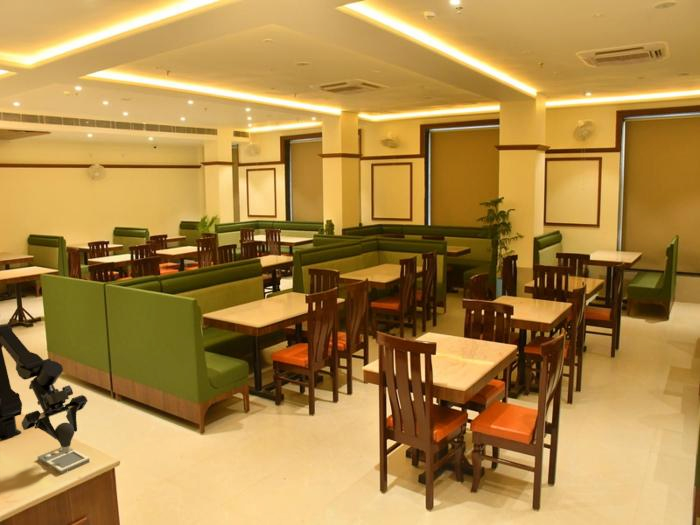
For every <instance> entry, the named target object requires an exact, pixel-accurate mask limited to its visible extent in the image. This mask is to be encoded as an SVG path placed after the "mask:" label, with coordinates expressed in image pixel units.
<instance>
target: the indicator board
mask: <svg viewBox="0 0 700 525" xmlns="http://www.w3.org/2000/svg"><path fill="white" fill-rule="evenodd" d="M37 460H38V461H39V460H40V462H41V463H42V462H43V464H44V463H45V464H44V465H45V466H47V465H48V466H47V467H49V468H50V467H51V469H52V470H53V471H55V472H57V473H58V472H59V473H58V474H60V475H63V474H66V473H67V471H68V472H70V471H72V470H74V469H77V468H79V467H81V466H84V465H85V463H86V464H88V463H90V457H89V456H87V455H85V454H83V453H82V452H80V451H78V450H77V449H72V448H71V449H70V451H69V452H68V453H67V454H65V453H63V452H62V447H58V448H55V449H54V450H51V451H48V452H45V453H43V454H41V455H39V456H37ZM83 464H84V465H83ZM65 472H66V473H65Z"/></svg>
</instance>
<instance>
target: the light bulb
mask: <svg viewBox="0 0 700 525" xmlns="http://www.w3.org/2000/svg"><path fill="white" fill-rule="evenodd" d="M54 430H55V431H56V433H57V436H58V439H56V440H57V442H59V444H60V446H61V447H62V452H63V453H65V454H67V453H68V452H69V451H70V449H72V448H71V443H72V440H73V438H74V435H75V431H74V427H73V426H72V425H71V424H70V423H69V422H62V423H59V424H58V425H57V426H56V428H54Z"/></svg>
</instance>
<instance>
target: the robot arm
mask: <svg viewBox="0 0 700 525" xmlns="http://www.w3.org/2000/svg"><path fill="white" fill-rule="evenodd" d="M3 348H4V349H5V351H6V352H7V353H8V355H10V357H11V358H12V359H13V360H14V362H15V370H16V372H17V374H18V377H19V378H21V379H22V380H24V381H25V380H29V379H32V378H33V379H32V380H30V384H29V385H28V388H29V389H28V390H32V391H33V393H34V395H35V397H36V399H37V402H36V403H37V405H38V406H39V405H40V408H41V409H42V411H43V412H40V410H35V411H34V410H33V411H31V412H29V413H26V414H25V415H24V418H23V419H22V421H21V428H22V429H23V430H24V431H26V430H29V429H32V428H34V429H35V430H36V429H38V430H41V431H43V432H45V433H47V434H48V435H49V436H51V437H52V438H53V439H55V440H57V439H58V436H57V433H56V431H55V428H54V426H53V425H52V423H51V420H50V417H53V416H56V415H58V414H61V413H63V412H66V413H67V414H66V416H65V417H66V419H67V421H68V423H70V424H71V425H72V426H73V427H74V433H76V432H77V431H78V423H77V412H78V411H81V410H83V409H84V408H85V406H86V404H87V402H88V401H89V400H88V399H87V397H86V396H85V395H83V394H81V395H78V396H75V397H73V398H71V400H70V401H69V402H68V403H66V402H67V400H69V399H70V398H69V396H73V394H74V392H73V388H72V387H71V385H70V384H69V385H65V386H63V387H62V388H61V390H59V389H58V388H56V387H55V386H54V384H56V382H57V381H58V379H59V378H60V376H61V375H62V373H63V371H64V370H63V369H64V368H63V365H62V364H61V363H59V362H58V361H54V360H51V358H46V359H43V358H42V357H41V356H40V355H38V353H35V352H32V351H30V350H28V348H27V346H25V345H24V343H23V342H22V341H21V340H20V338H19V337H18V336H17V335H16V333H14V331H13V328H12V325H10V324H1V325H0V440H2V441H4V440H6V439H8V438H11V437H15V436H17V435H19V434H22V431H21V430H19V429H18V428H17V421H16V417H18V416H21V415H22V411H23V410H22V408H23V402H22V400H21V398H20V397H21V396H20V394H19V393H18V392H16V391H14V390H13V389H12V387H11V382H10V378H9V374H8V369H7V365H6V361H5V356H4V353H3ZM65 403H66V404H65Z"/></svg>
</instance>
